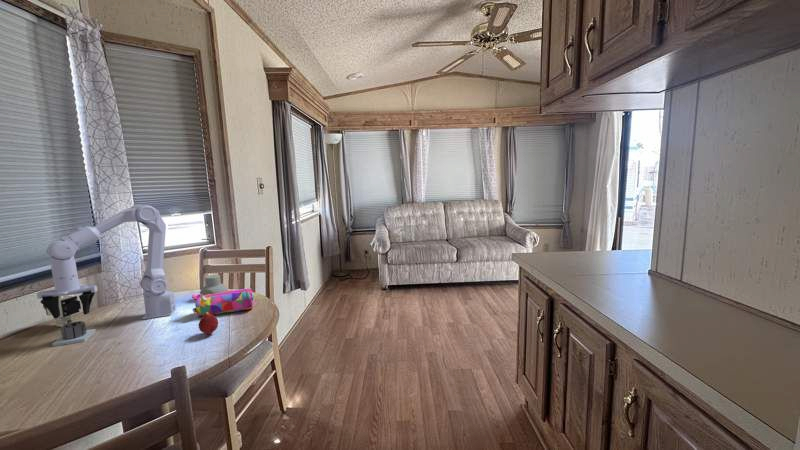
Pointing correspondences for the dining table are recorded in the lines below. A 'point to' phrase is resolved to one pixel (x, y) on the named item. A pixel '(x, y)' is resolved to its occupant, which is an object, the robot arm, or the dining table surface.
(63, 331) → the ring
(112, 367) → the dining table surface
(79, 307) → the pneumatic valve
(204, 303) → the pencil case
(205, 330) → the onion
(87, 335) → the square plate with peg
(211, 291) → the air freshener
